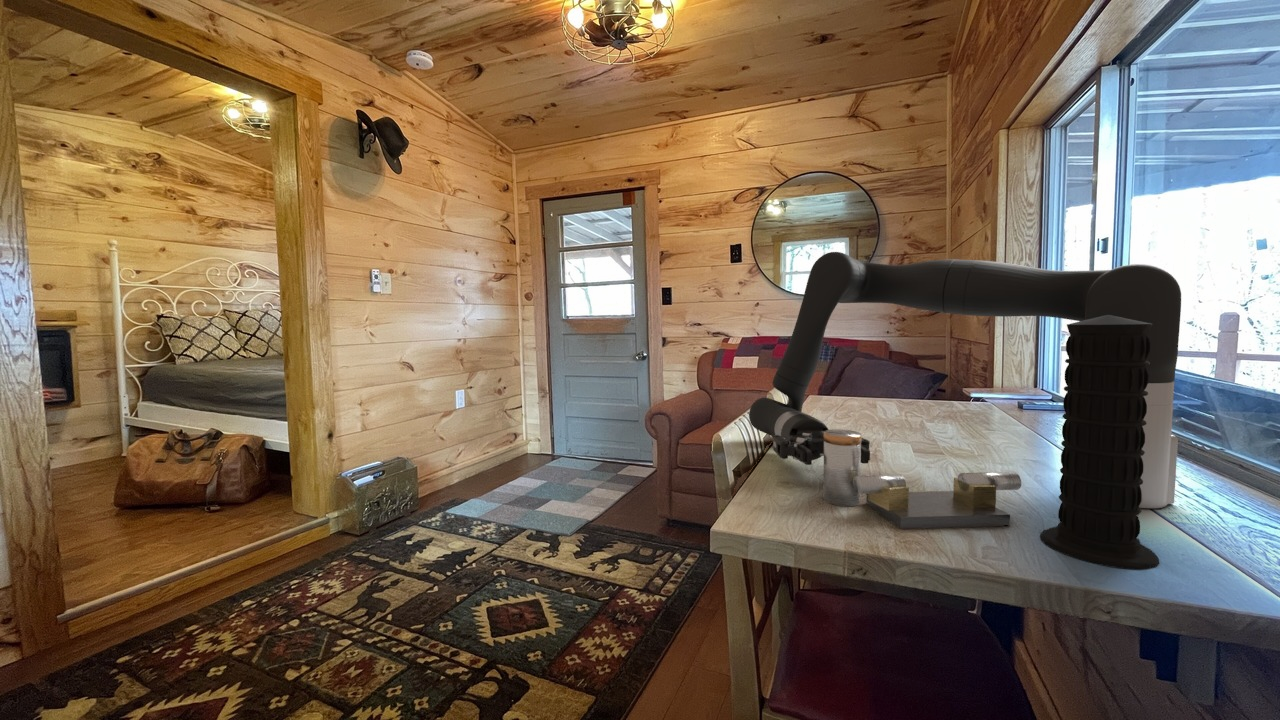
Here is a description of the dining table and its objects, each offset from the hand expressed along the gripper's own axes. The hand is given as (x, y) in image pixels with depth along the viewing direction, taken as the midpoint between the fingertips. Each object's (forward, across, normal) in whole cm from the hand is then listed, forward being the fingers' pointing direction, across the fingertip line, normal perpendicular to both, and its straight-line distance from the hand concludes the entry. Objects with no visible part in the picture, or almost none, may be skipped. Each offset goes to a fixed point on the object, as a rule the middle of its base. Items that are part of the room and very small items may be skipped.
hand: (838, 457), depth 74 cm
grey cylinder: (+1, 0, +6) cm, 6 cm away
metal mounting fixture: (+7, +10, +6) cm, 14 cm away
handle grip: (+18, +22, +6) cm, 29 cm away
